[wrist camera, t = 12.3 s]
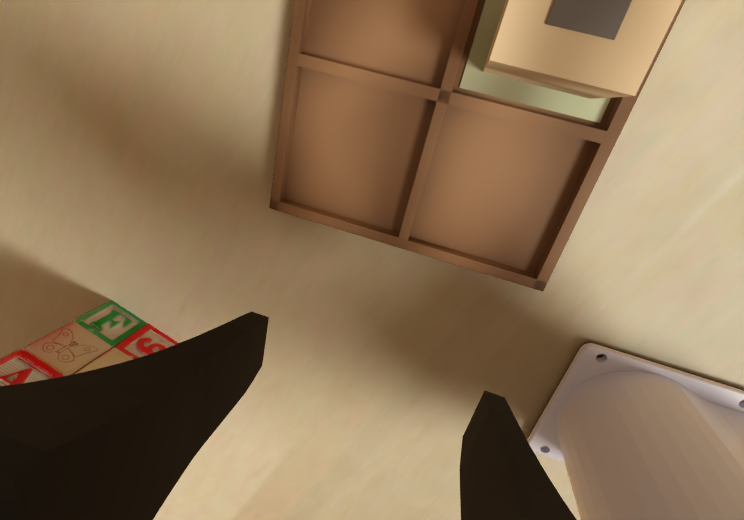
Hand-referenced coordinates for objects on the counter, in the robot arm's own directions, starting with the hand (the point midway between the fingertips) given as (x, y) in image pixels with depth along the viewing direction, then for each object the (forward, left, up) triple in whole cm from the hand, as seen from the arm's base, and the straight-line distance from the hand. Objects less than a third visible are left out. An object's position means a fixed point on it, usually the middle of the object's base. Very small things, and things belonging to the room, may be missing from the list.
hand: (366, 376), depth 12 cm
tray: (0, -9, -9) cm, 13 cm away
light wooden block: (-3, -12, -9) cm, 15 cm away
